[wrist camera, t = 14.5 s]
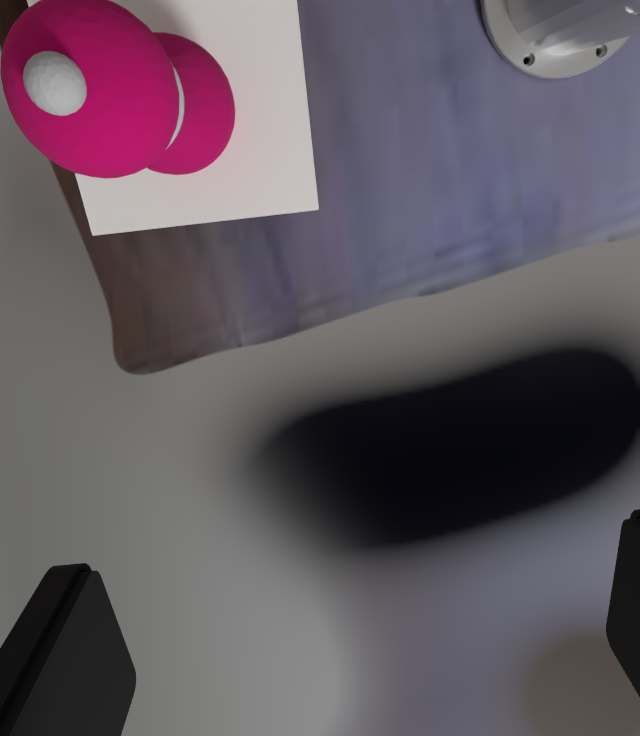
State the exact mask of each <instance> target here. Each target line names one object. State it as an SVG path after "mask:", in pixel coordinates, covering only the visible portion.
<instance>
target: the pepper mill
mask: <svg viewBox="0 0 640 736" xmlns="http://www.w3.org/2000/svg"><path fill="white" fill-rule="evenodd" d="M1 79H2V84H3V90H4V93H5V96H6V100H7V103H8V106H9V109H10V111H11V113H12V115H13V117H14V119H15V121H16V123H17V125H18V126H19V128H20V129H21V131H22V132H23V134H24V135H25V136H26V138H27V139H28V140H29V141H30V142H31V143H32V144H33V145H34V146H35V147H36V148H37V149H38V150H39V151H40V152H41V153H42V154H44V155H45V156H46V157H47V158H49V159H50V160H52V161H53V162H55V163H56V164H58V165H59V166H61V167H63V168H65V169H67V170H70V171H72V172H74V173H77V174H81V175H86V176H90V177H97V178H105V179H106V178H119V177H123V176H127V175H131V174H135V173H137V172H139V171H141V170H143V169H145V168H148V169H150V170H152V171H155V172H159V173H163V174H172V175H185V174H190V173H194V172H198V171H200V170H202V169H204V168H206V167H207V166H209V165H210V164H212V163H213V162H214V161H215V160H216V159H217V158H218V157H219V156H220V155H221V154H222V152H223V151H224V149H225V148H226V146H227V144H228V142H229V140H230V138H231V135H232V132H233V129H234V124H235V103H234V98H233V93H232V90H231V87H230V84H229V81H228V78H227V76H226V75H225V73H224V71H223V70H222V68H221V66H220V65H219V63H218V62H217V61H216V60H215V59H214V57H213V56H212V55H211V54H210V53H209V52H207V51H206V50H205V49H204V48H203V47H201V46H200V45H198V44H197V43H195V42H193V41H191V40H189V39H187V38H185V37H182V36H179V35H176V34H171V33H165V32H154V33H153V32H152V31H151V30H150V29H149V28H148V26H147V25H145V24H144V23H143V22H142V21H141V20H139V19H138V18H137V17H136V16H134V15H133V14H132V13H131V12H130V11H128V10H127V9H125V8H124V7H122V6H120V5H118V4H116V3H114V2H112V1H109V0H40V1H38V2H37V3H35V4H33V5H32V6H30V7H29V8H27V9H26V10H25V11H24V12H23V13H22V14H21V16H20V17H19V18H18V19H17V20H16V21H15V23H14V24H13V25H12V27H11V29H10V31H9V33H8V35H7V37H6V39H5V41H4V46H3V50H2V55H1Z"/></svg>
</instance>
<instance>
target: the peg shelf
mask: <svg viewBox="0 0 640 736" xmlns="http://www.w3.org/2000/svg"><path fill="white" fill-rule="evenodd" d="M38 1H40V0H27V3H28V6H29V7H30V6H32V5H33V4H35V3H37V2H38ZM109 1H112V2H114V3H116V4H118V5H120V6H122V7H124V8H125V9H127V10H128V11H130V12H131V13H132V14H133V15H134V16H136V17H137V18H138V19H139V20H141V21H142V22H143V23H144V24H145V25H147V26H148V28H149V29H150V30H151V31H152V32H153V33H154V32H165V33H171V34H176V35H179V36H182V37H185V38H187V39H189V40H191V41H193V42H195V43H197V44H198V45H200V46H201V47H203V48H204V49H205V50H206V51H207V52H209V53H210V54H211V55H212V56H213V57H214V59H215V60H216V61H217V62H218V63H219V65H220V66H221V68H222V70H223V71H224V73H225V75H226V76H227V78H228V81H229V84H230V87H231V90H232V93H233V98H234V103H235V124H234V129H233V132H232V135H231V138H230V140H229V142H228V144H227V146H226V148H225V149H224V151H223V152H222V154H221V155H220V156H219V157H218V158H217V159H216V160H215V161H214V162H213V163H212V164H210V165H209V166H207V167H206V168H204V169H202V170H200V171H198V172H194V173H190V174H185V175H172V174H163V173H159V172H155V171H152V170H150V169H148V168H145V169H143V170H141V171H139V172H137V173H135V174H131V175H127V176H123V177H119V178H106V179H105V178H97V177H90V176H86V175H81V174H77V173H75V175H76V178H77V182H78V186H79V189H80V193H81V196H82V200H83V204H84V207H85V211H86V214H87V218H88V222H89V225H90V229H91V232H92V236H94V235H103V234H112V233H120V232H129V231H138V230H147V229H155V228H164V227H173V226H182V225H190V224H199V223H208V222H217V221H225V220H234V219H243V218H252V217H260V216H269V215H278V214H286V213H295V212H304V211H313V210H319V207H318V197H317V188H316V178H315V169H314V159H313V150H312V140H311V131H310V121H309V112H308V102H307V93H306V83H305V74H304V64H303V55H302V45H301V36H300V26H299V17H298V7H297V0H109Z"/></svg>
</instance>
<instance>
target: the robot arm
mask: <svg viewBox="0 0 640 736" xmlns="http://www.w3.org/2000/svg"><path fill="white" fill-rule="evenodd" d="M480 1H481V10H482V18H483V21H484V25H485V28H486V32H487V35H488V37H489V39H490V40H491V42H492V44H493V46H494V48H495V50H496V51H497V52H498V53H499V55H500V56H501V57H502V58H503V60H504V61H505V62H507V63H508V64H509V65H510V66H512V67H513V68H514V69H515V70H517V71H519V72H521V73H523V74H525V75H528V76H530V77H535V78H539V79H562V78H567V77H572V76H575V75H578V74H581V73H584V72H587V71H589V70H591V69H592V68H594V67H596V66H598V65H600V64H601V63H603V62H604V61H605V60H607V59H608V58H609V57H610V56H612V55H613V54H614V53H615V52H616V51H617V50H618V49H619V48H620V47H621V46H622V45H623V44H624V43H625V42H626V41H627V39H628V38H629V37H630V36H631V35H634V34H637V33H640V0H480ZM596 49H598V51H599V53H598V55H596ZM524 58H527V59H528V62H527V64H526V65H525V64H524V61H523V60H524ZM606 633H607V638H608V641H609V644H610V647H611V648H612V651H613V652H614V654H615V656H616V658H617V659H618V661H619V663H620V664H621V666H622V667H623V669H624V671H625V673H626V674H627V676H628V678H629V679H630V681H631V683H632V685H633V686H634V688H635V690H636V691H637V693H638V695H639V697H640V509H639V510H634V511H633V512H632V514H631V517H630V519H627V520H624V521H623V524H622V528H621V535H620V541H619V547H618V554H617V560H616V566H615V573H614V579H613V585H612V592H611V599H610V605H609V612H608V617H607V624H606ZM135 686H136V672H135V668H134V666H133V663H132V660H131V657H130V654H129V652H128V649H127V646H126V643H125V641H124V638H123V636H122V633H121V630H120V627H119V625H118V622H117V619H116V616H115V614H114V611H113V608H112V605H111V603H110V600H109V598H108V595H107V592H106V589H105V586H104V583H103V581H102V578H101V575H100V574H99V572H98V571H92V570H91V568H90V566H89V565H87V564H85V563H81V564H71V565H61V566H53V567H51V568H50V569H49V570H48V571H47V572H46V574H45V575H44V577H43V579H42V580H41V582H40V584H39V585H38V587H37V589H36V590H35V592H34V594H33V595H32V597H31V599H30V600H29V602H28V604H27V605H26V607H25V609H24V610H23V612H22V613H21V615H20V617H19V618H18V620H17V622H16V623H15V625H14V627H13V628H12V630H11V632H10V633H9V635H8V637H7V638H6V640H5V642H4V643H3V645H2V646H1V648H0V736H121V733H122V730H123V727H124V724H125V721H126V717H127V714H128V711H129V708H130V705H131V701H132V698H133V695H134V692H135Z"/></svg>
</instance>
